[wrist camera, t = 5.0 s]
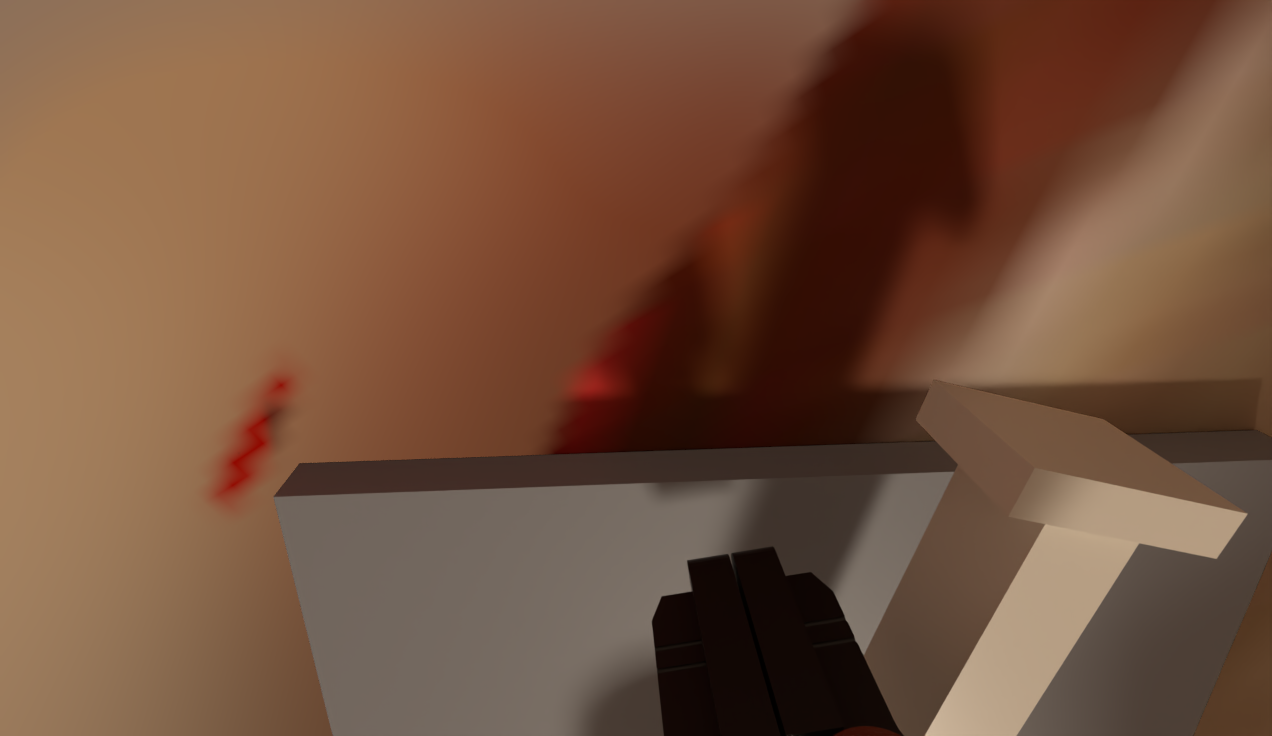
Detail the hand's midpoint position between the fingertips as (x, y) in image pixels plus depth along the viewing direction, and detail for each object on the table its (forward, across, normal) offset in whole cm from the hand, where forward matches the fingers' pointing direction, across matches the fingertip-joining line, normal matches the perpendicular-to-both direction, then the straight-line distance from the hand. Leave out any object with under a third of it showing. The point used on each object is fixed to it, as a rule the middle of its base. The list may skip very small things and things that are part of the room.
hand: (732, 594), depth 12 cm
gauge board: (+3, -1, +9) cm, 9 cm away
